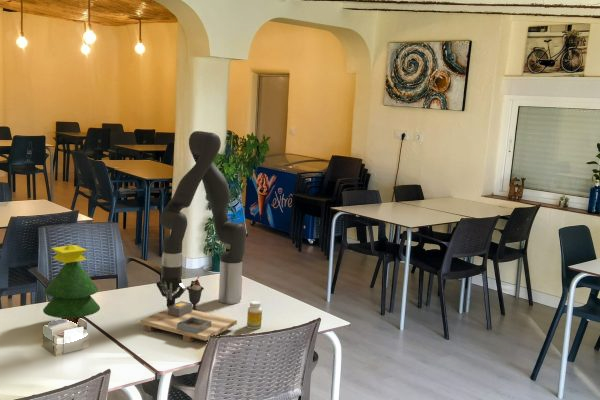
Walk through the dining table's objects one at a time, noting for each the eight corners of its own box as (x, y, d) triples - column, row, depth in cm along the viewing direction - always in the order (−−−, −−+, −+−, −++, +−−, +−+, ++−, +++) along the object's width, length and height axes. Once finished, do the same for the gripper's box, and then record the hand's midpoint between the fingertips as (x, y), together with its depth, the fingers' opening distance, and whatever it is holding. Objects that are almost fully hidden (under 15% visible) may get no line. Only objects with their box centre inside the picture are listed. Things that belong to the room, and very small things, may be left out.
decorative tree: (110, 327, 230) (111, 245, 225) (59, 339, 216) (59, 252, 211) (83, 313, 243) (84, 235, 238) (33, 323, 229) (33, 241, 224)
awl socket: (191, 321, 230) (191, 316, 230) (211, 326, 227) (211, 321, 227) (177, 328, 223) (177, 323, 223) (197, 333, 219) (197, 328, 219)
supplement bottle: (245, 324, 241) (247, 300, 240) (259, 324, 243) (261, 299, 241) (248, 329, 236) (249, 304, 235) (262, 329, 238) (263, 304, 236)
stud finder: (181, 308, 243) (181, 300, 243) (191, 311, 241) (192, 303, 241) (168, 314, 236) (168, 306, 236) (179, 317, 234) (179, 308, 234)
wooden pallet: (174, 314, 248) (174, 305, 247) (236, 329, 236) (236, 320, 235) (140, 329, 230) (140, 319, 229) (205, 346, 218) (206, 336, 217)
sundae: (199, 316, 247) (200, 278, 245) (183, 314, 248) (184, 276, 246) (205, 311, 253) (206, 274, 251) (189, 309, 255) (190, 272, 253)
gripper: (192, 264, 239) (190, 309, 241) (164, 258, 244) (162, 302, 247) (180, 268, 232) (178, 314, 235) (151, 262, 238) (150, 307, 240)
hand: (170, 308), depth 241 cm, fingers closed
